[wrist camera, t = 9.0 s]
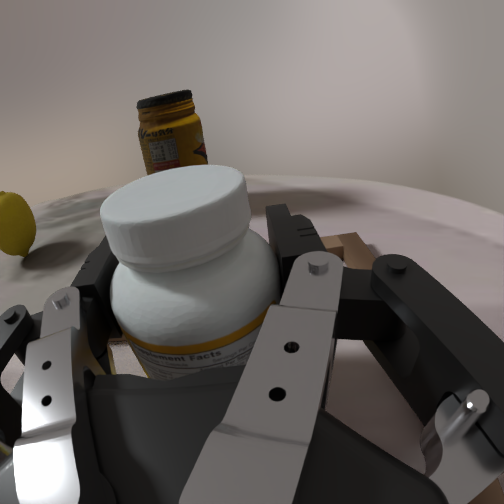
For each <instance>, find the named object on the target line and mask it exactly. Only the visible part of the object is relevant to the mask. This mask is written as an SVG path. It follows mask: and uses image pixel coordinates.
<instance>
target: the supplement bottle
mask: <svg viewBox="0 0 504 504" xmlns="http://www.w3.org/2000/svg"><path fill="white" fill-rule="evenodd" d="M100 216H101V220H102V223H103V227H104V230H105V233H106V236H107V239H108V242H109V245H110V248H111V251H112V252H113V254H114V255H115V256H116V258H117V259H118V261H119V264H118V266H117V267H116V269H115V271H114V274H113V276H112V280H111V285H110V302H111V307H112V310H113V313H114V315H115V318H116V320H117V322H118V324H119V326H120V328H121V330H122V332H123V334H124V336H125V338H126V340H127V341H128V343H129V345H130V347H131V349H132V351H133V353H134V354H135V356H136V358H137V359H138V361H139V363H140V365H141V366H142V368H143V370H144V372H145V373H146V375H147V377H148V378H151V379H156V380H162V381H167V380H171V379H175V378H178V377H182V376H185V375H189V374H192V373H195V372H199V371H202V370H205V369H211V368H220V367H229V366H237V365H245V364H247V361H248V359H249V357H250V354H251V352H252V349H253V347H254V344H255V342H256V339H257V337H258V334H259V332H260V329H261V327H262V324H263V322H264V319H265V317H266V314H267V311H268V309H269V307H270V306H271V304H280V301H281V298H282V288H281V277H280V269H279V264H278V260H277V257H276V255H275V253H274V251H273V249H272V248H271V246H270V245H269V244H268V243H267V242H266V240H265V239H263V238H262V237H261V236H260V235H259V234H257V233H256V232H254V231H253V230H251V229H249V223H250V220H251V209H250V206H249V200H248V194H247V187H246V181H245V178H244V176H243V174H242V173H241V172H240V171H239V170H236V169H234V168H231V167H227V166H220V165H194V166H187V167H180V168H175V169H169V170H165V171H161V172H157V173H154V174H151V175H148V176H145V177H143V178H140V179H138V180H136V181H133V182H131V183H129V184H127V185H125V186H123V187H122V188H120V189H118V190H116V191H115V192H114V193H112V194H111V195H110V196H109V197H108V198H107V199H106V200H105V201H104V202H103V204H102V206H101V209H100Z"/></svg>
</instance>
